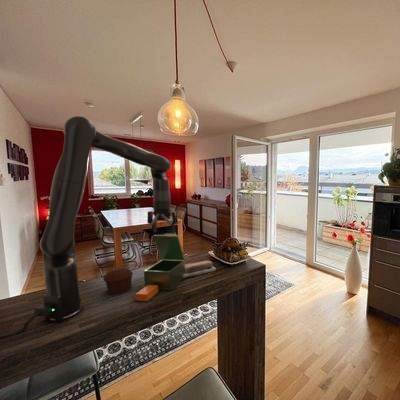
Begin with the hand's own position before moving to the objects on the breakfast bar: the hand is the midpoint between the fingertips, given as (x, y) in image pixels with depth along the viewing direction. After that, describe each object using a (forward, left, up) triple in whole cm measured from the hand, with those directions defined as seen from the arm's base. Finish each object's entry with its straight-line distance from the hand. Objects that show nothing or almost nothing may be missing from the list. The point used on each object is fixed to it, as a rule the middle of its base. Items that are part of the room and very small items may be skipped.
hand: (163, 232), depth 111 cm
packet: (-14, 0, -25) cm, 29 cm away
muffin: (-10, +17, -25) cm, 32 cm away
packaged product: (+13, -11, -25) cm, 31 cm away
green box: (-1, -1, -25) cm, 25 cm away
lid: (+3, -1, -9) cm, 10 cm away
